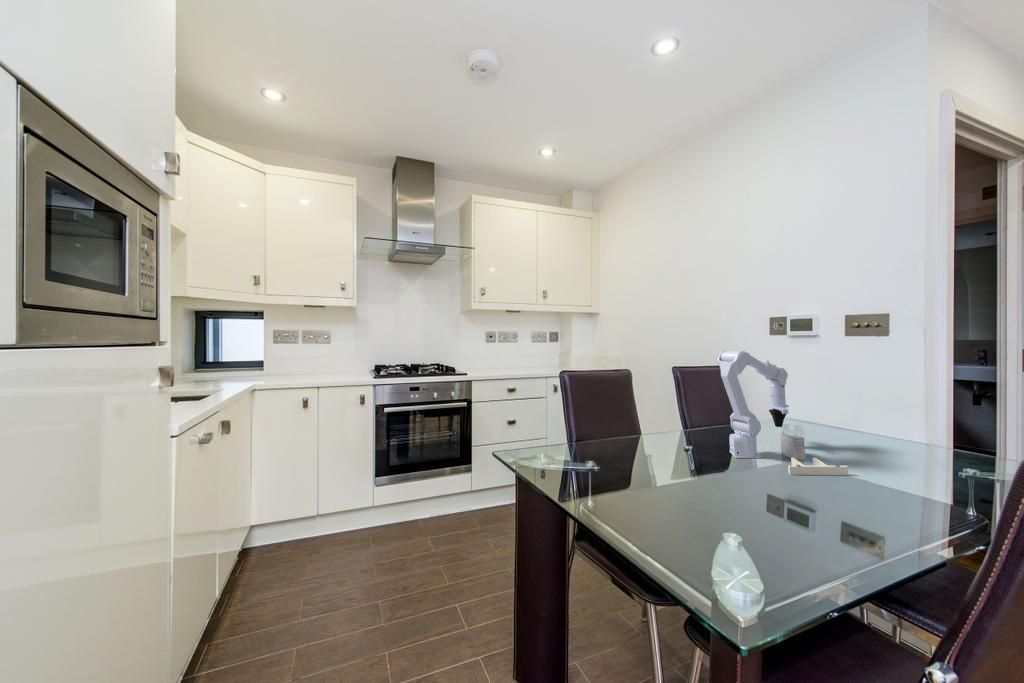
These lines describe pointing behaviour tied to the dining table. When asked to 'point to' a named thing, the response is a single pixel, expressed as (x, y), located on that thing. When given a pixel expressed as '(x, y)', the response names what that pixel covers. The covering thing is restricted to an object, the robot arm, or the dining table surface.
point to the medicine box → (792, 446)
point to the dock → (815, 468)
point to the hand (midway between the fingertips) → (778, 426)
